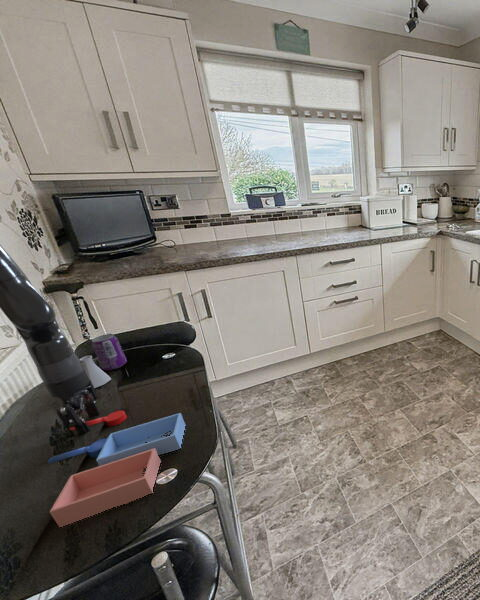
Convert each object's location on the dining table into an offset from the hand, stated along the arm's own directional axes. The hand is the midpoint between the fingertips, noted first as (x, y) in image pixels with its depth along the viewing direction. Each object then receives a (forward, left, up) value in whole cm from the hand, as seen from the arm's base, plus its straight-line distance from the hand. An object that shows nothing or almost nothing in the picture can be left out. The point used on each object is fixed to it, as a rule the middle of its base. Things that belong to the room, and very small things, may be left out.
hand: (90, 425), depth 89 cm
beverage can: (-5, +39, -1) cm, 39 cm away
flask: (-7, +28, -1) cm, 29 cm away
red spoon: (+2, 0, -1) cm, 2 cm away
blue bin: (+16, -18, -1) cm, 24 cm away
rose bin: (+13, -29, -1) cm, 32 cm away
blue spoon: (+2, -12, -1) cm, 12 cm away
